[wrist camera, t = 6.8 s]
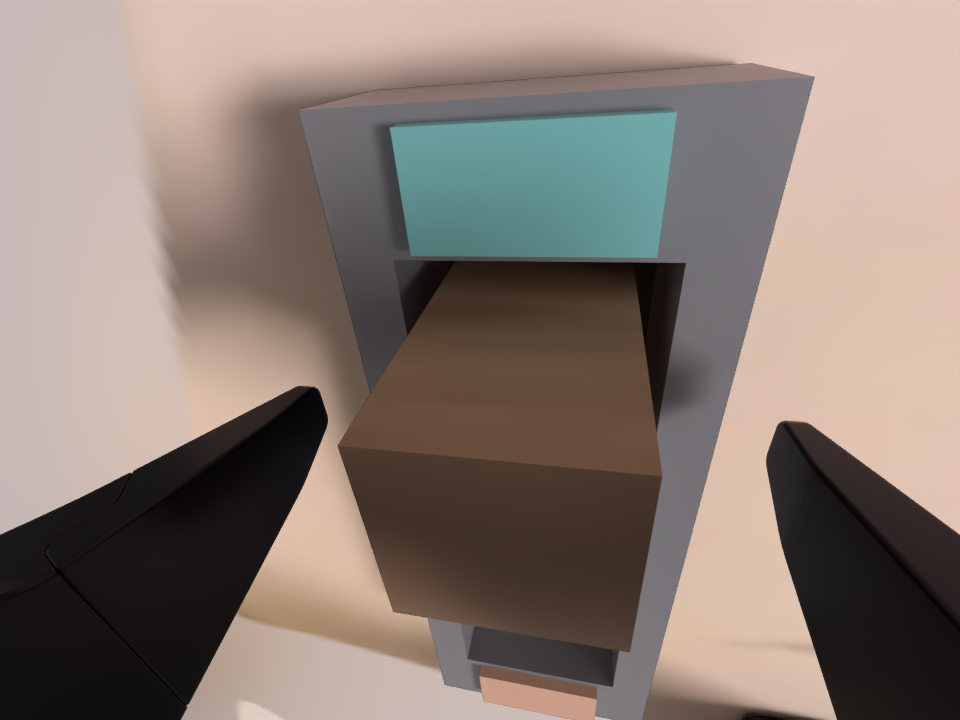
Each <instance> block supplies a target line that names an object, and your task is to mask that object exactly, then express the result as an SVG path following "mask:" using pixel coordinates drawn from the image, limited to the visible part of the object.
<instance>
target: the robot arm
mask: <svg viewBox="0 0 960 720" xmlns="http://www.w3.org/2000/svg"><path fill="white" fill-rule="evenodd" d="M327 424H328V416H327V413H326V410H325V407H324V404H323V400H322V397H321V394H320V392H319V390H318V389H317V388H315V387H309V386H297V387H295V388H293V389H291V390H289V391H287V392H285V393H283V394H281V395H279V396H277V397H275V398H274V399H272V400H270V401H268V402H266V403H264V404H262V405H260V406H258V407H256V408H254V409H252V410H250V411H248V412H246V413H244V414H243V415H241V416H239V417H237V418H235V419H233V420H231V421H229V422H227V423H225V424H223V425H221V426H219V427H217V428H215V429H213V430H212V431H210V432H208V433H206V434H204V435H202V436H200V437H198V438H196V439H194V440H192V441H190V442H188V443H186V444H184V445H182V446H181V447H179V448H177V449H175V450H173V451H171V452H169V453H167V454H165V455H163V456H161V457H159V458H158V459H156V460H153V461H151V462H150V463H148V464H146V465H144V466H142V467H140V468H138V469H136V470H134V471H133V473H128V474H126V475H124V476H122V477H120V478H119V479H116V480H115V481H113V482H111V483H109V484H107V485H105V486H103V487H101V488H99V489H97V490H95V491H93V492H91V493H89V494H87V495H85V496H83V497H81V498H79V499H77V500H74V501H72V502H70V503H68V504H66V505H64V506H62V507H60V508H58V509H56V510H53V511H51V512H49V513H47V514H45V515H42V516H40V517H38V518H36V519H34V520H32V521H30V522H27V523H25V524H23V525H21V526H18V527H16V528H14V529H12V530H10V531H7V532H5V533H4V534H1V535H0V720H181V719H182V717H183V715H184V713H185V711H186V709H187V706H186V705H188V704H189V703H190V701H191V699H192V697H193V695H194V693H195V691H196V689H197V688H198V686H199V684H200V682H201V680H202V678H203V676H204V674H205V672H206V670H207V669H208V666H209V665H210V663H211V661H212V659H213V657H214V655H215V653H216V651H217V650H218V647H219V646H220V644H221V642H222V640H223V638H224V636H225V634H226V632H227V630H228V628H229V627H230V625H231V623H232V621H233V619H234V617H235V615H236V613H237V612H238V610H239V608H240V606H241V604H242V602H243V600H244V598H245V596H246V594H247V592H248V591H249V589H250V587H251V585H252V583H253V581H254V579H255V577H256V575H257V573H258V572H259V570H260V568H261V566H262V564H263V562H264V560H265V558H266V556H267V554H268V553H269V551H270V549H271V547H272V545H273V543H274V541H275V539H276V537H277V535H278V534H279V532H280V530H281V528H282V526H283V524H284V522H285V520H286V518H287V516H288V515H289V513H290V511H291V509H292V507H293V505H294V503H295V501H296V499H297V497H298V495H299V493H300V491H301V489H302V487H303V485H304V483H305V480H306V478H307V476H308V473H309V471H310V468H311V466H312V463H313V461H314V458H315V456H316V453H317V451H318V448H319V446H320V443H321V441H322V438H323V436H324V433H325V431H326V428H327ZM766 466H767V472H768V477H769V483H770V488H771V493H772V499H773V504H774V509H775V515H776V520H777V525H778V531H779V535H780V540H781V545H782V548H783V552H784V555H785V559H786V562H787V565H788V568H789V571H790V574H791V577H792V581H793V584H794V587H795V590H796V593H797V596H798V599H799V602H800V605H801V609H802V612H803V615H804V618H805V621H806V624H807V627H808V630H809V634H810V637H811V640H812V643H813V646H814V649H815V652H816V655H817V659H818V662H819V665H820V668H821V671H822V674H823V677H824V680H825V683H826V687H827V690H828V693H829V696H830V699H831V702H832V705H833V708H834V712H835V715H836V718H837V720H960V534H958V533H957V532H956V531H954V530H953V529H951V528H950V527H949V526H947V525H946V524H945V523H943V522H942V521H941V520H939V519H938V518H937V517H935V516H934V515H932V514H931V513H930V512H928V511H927V510H926V509H924V508H923V507H922V506H920V505H919V504H918V503H916V502H915V501H913V500H912V499H911V498H909V497H908V496H907V495H905V494H904V493H903V492H901V491H900V490H899V489H897V488H896V487H895V486H893V485H892V484H890V483H889V482H888V481H886V480H885V479H884V478H882V477H881V476H880V475H878V474H877V473H876V472H874V471H873V470H871V469H870V468H869V467H867V466H866V465H865V464H863V463H862V462H861V461H859V460H858V459H857V458H855V457H854V456H852V455H851V454H850V453H848V452H847V451H846V450H844V449H843V448H842V447H840V446H839V445H838V444H836V443H835V442H834V441H832V440H831V439H829V438H828V437H827V436H825V435H824V434H823V433H821V432H820V431H819V430H817V429H816V428H815V427H813V426H812V425H810V424H809V423H806V422H797V421H782V422H780V423H779V424H778V426H777V428H776V430H775V433H774V436H773V439H772V442H771V445H770V447H769V450H768V453H767V458H766ZM743 720H769V719H764V718H758V717H745V718H744V719H743Z"/></svg>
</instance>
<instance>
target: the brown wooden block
mask: <svg viewBox="0 0 960 720" xmlns="http://www.w3.org/2000/svg"><path fill="white" fill-rule="evenodd" d="M338 448H339V451H340V454H341V457H342V460H343V463H344V466H345V469H346V472H347V475H348V478H349V481H350V484H351V487H352V490H353V493H354V496H355V499H356V502H357V505H358V508H359V511H360V514H361V517H362V520H363V523H364V526H365V529H366V532H367V535H368V538H369V541H370V544H371V547H372V550H373V553H374V556H375V559H376V562H377V565H378V568H379V571H380V574H381V577H382V580H383V583H384V586H385V589H386V592H387V595H388V598H389V601H390V604H391V607H392V610H393V612H397V613H403V614H409V615H414V616H420V617H426V618H432V619H438V620H443V621H449V622H455V623H461V624H467V625H472V626H478V627H484V628H490V629H496V630H501V631H507V632H513V633H519V634H525V635H531V636H536V637H542V638H548V639H554V640H560V641H565V642H571V643H577V644H583V645H589V646H594V647H600V648H606V649H612V650H618V651H624V652H629V653H630V650H631V644H632V639H633V633H634V628H635V623H636V617H637V612H638V606H639V601H640V595H641V590H642V585H643V579H644V574H645V568H646V563H647V557H648V552H649V547H650V541H651V536H652V530H653V525H654V519H655V514H656V509H657V503H658V498H659V492H660V487H661V481H662V469H661V462H660V455H659V447H658V440H657V433H656V425H655V418H654V411H653V403H652V396H651V389H650V381H649V374H648V367H647V360H646V352H645V345H644V338H643V330H642V323H641V316H640V308H639V301H638V294H637V286H636V279H635V272H634V264H633V262H538V261H455V263H454V264H453V266H452V267H451V269H450V270H449V272H448V273H447V275H446V277H445V278H444V280H443V281H442V283H441V284H440V286H439V288H438V289H437V291H436V292H435V294H434V295H433V297H432V299H431V300H430V302H429V303H428V305H427V306H426V308H425V310H424V311H423V313H422V314H421V316H420V317H419V319H418V320H417V322H416V324H415V325H414V327H413V328H412V330H411V331H410V333H409V335H408V336H407V338H406V339H405V341H404V342H403V344H402V346H401V347H400V349H399V350H398V352H397V353H396V355H395V357H394V358H393V360H392V361H391V363H390V364H389V366H388V367H387V369H386V371H385V372H384V374H383V375H382V377H381V378H380V380H379V382H378V383H377V385H376V386H375V388H374V389H373V391H372V393H371V394H370V396H369V397H368V399H367V400H366V402H365V403H364V405H363V407H362V408H361V410H360V411H359V413H358V414H357V416H356V418H355V419H354V421H353V422H352V424H351V425H350V427H349V429H348V430H347V432H346V433H345V435H344V436H343V438H342V440H341V441H340V443H339V444H338Z"/></svg>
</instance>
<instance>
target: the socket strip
mask: <svg viewBox="0 0 960 720" xmlns="http://www.w3.org/2000/svg"><path fill="white" fill-rule="evenodd" d="M813 81H814V76H809V75H804V74H800V73H795V72H790V71H785V70H781V69H776V68H771V67H767V66H762V65H757V64H753V63H747V64H733V65H719V66H705V67H691V68H677V69H663V70H650V71H636V72H622V73H608V74H594V75H580V76H567V77H553V78H539V79H525V80H511V81H497V82H483V83H470V84H456V85H442V86H428V87H414V88H400V89H386V90H374V91H371V92H367V93H363V94H359V95H355V96H351V97H348V98H344V99H340V100H336V101H332V102H328V103H324V104H321V105H317V106H313V107H309V108H305V109H301V110H298V111H299V115H300V119H301V123H302V127H303V131H304V135H305V139H306V142H307V146H308V150H309V154H310V158H311V162H312V166H313V170H314V174H315V178H316V182H317V186H318V190H319V194H320V197H321V201H322V205H323V209H324V213H325V217H326V221H327V225H328V229H329V233H330V237H331V241H332V245H333V248H334V252H335V256H336V260H337V264H338V268H339V272H340V276H341V280H342V284H343V288H344V292H345V296H346V299H347V303H348V307H349V311H350V315H351V319H352V323H353V327H354V331H355V335H356V339H357V343H358V347H359V350H360V354H361V358H362V362H363V366H364V370H365V374H366V378H367V382H368V386H369V390H370V394H371V393H372V391H373V389H374V388H375V386H376V385H377V383H378V382H379V380H380V378H381V377H382V375H383V374H384V372H385V371H386V369H387V367H388V366H389V364H390V363H391V361H392V360H393V358H394V357H395V355H396V353H397V352H398V350H399V349H400V347H401V346H402V344H403V342H404V341H405V339H406V338H407V336H408V335H409V333H410V331H411V330H412V328H413V327H414V325H415V324H416V322H417V320H418V319H419V317H420V316H421V314H422V313H423V311H424V310H425V308H426V306H427V305H428V303H429V302H430V300H431V299H432V297H433V295H434V294H435V292H436V291H437V289H438V288H439V286H440V284H441V283H442V281H443V280H444V278H445V277H446V275H447V273H448V265H447V261H538V262H648V263H657V267H656V274H655V281H654V289H653V296H652V303H651V310H650V318H649V325H648V332H647V340H646V347H645V352H646V360H647V367H648V374H649V381H650V389H651V396H652V403H653V411H654V418H655V425H656V433H657V440H658V447H659V455H660V462H661V469H662V481H661V487H660V492H659V498H658V503H657V509H656V514H655V519H654V525H653V530H652V536H651V541H650V547H649V552H648V557H647V563H646V568H645V574H644V579H643V585H642V590H641V595H640V601H639V606H638V612H637V617H636V623H635V628H634V633H633V639H632V644H631V650H630V653H629V652H624V651H618V650H612V649H606V648H600V647H594V646H589V645H583V644H577V643H571V642H565V641H560V640H554V639H548V638H542V637H536V636H531V635H525V634H519V633H513V632H507V631H501V630H496V629H490V628H484V627H478V626H472V625H467V624H461V623H455V622H449V621H443V620H438V619H432V618H428V621H429V625H430V629H431V633H432V637H433V641H434V645H435V649H436V653H437V657H438V661H439V664H440V668H441V672H442V676H443V680H444V684H445V685H447V686H452V687H457V688H462V689H467V690H472V691H476V692H481V693H482V695H483V701H485V702H491V703H495V704H500V705H504V706H509V707H514V708H519V709H524V710H528V711H533V712H538V713H543V714H547V715H552V716H557V717H562V718H567V719H571V720H594V717H595V716H598V717H603V718H607V719H612V720H642V717H643V713H644V710H645V706H646V702H647V698H648V695H649V691H650V687H651V684H652V680H653V676H654V672H655V669H656V665H657V661H658V658H659V654H660V650H661V646H662V643H663V639H664V635H665V632H666V628H667V624H668V620H669V617H670V613H671V609H672V605H673V602H674V598H675V594H676V591H677V587H678V583H679V579H680V576H681V572H682V568H683V565H684V561H685V557H686V553H687V550H688V546H689V542H690V539H691V535H692V531H693V527H694V524H695V520H696V516H697V512H698V509H699V505H700V501H701V498H702V494H703V490H704V486H705V483H706V479H707V475H708V472H709V468H710V464H711V460H712V457H713V453H714V449H715V446H716V442H717V438H718V434H719V431H720V427H721V423H722V419H723V416H724V412H725V408H726V405H727V401H728V397H729V393H730V390H731V386H732V382H733V379H734V375H735V371H736V367H737V364H738V360H739V356H740V353H741V349H742V345H743V341H744V338H745V334H746V330H747V327H748V323H749V319H750V315H751V312H752V308H753V304H754V300H755V297H756V293H757V289H758V286H759V282H760V278H761V274H762V271H763V267H764V263H765V260H766V256H767V252H768V248H769V245H770V241H771V237H772V234H773V230H774V226H775V222H776V219H777V215H778V211H779V207H780V204H781V200H782V196H783V193H784V189H785V185H786V181H787V178H788V174H789V170H790V167H791V163H792V159H793V155H794V152H795V148H796V144H797V141H798V137H799V133H800V129H801V126H802V122H803V118H804V114H805V111H806V107H807V103H808V100H809V96H810V92H811V88H812V85H813Z"/></svg>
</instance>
